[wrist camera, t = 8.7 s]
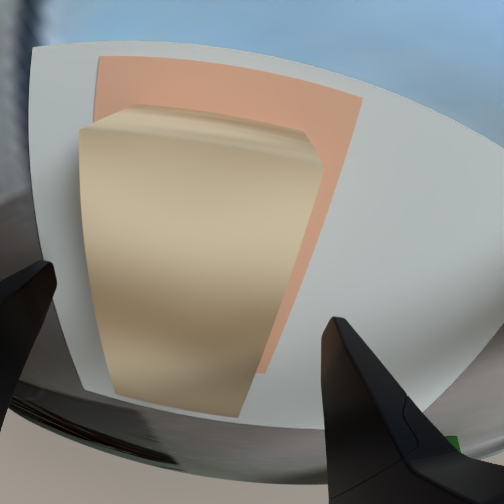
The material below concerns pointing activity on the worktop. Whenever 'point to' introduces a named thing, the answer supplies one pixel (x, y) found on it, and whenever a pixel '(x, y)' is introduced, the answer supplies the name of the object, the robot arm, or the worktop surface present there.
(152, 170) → the beige wooden block
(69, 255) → the mat
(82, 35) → the worktop surface
